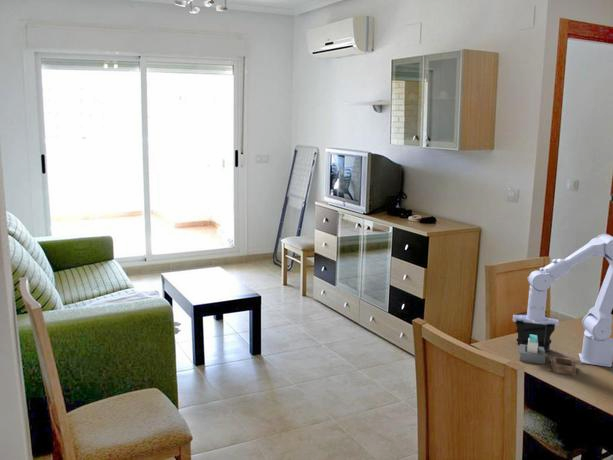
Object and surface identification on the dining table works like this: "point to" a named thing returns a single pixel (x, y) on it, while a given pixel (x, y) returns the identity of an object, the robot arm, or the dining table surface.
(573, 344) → the dining table surface
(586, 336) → the robot arm
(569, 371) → the brown wooden frame
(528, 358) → the port panel
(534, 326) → the black piece
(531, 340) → the plug
